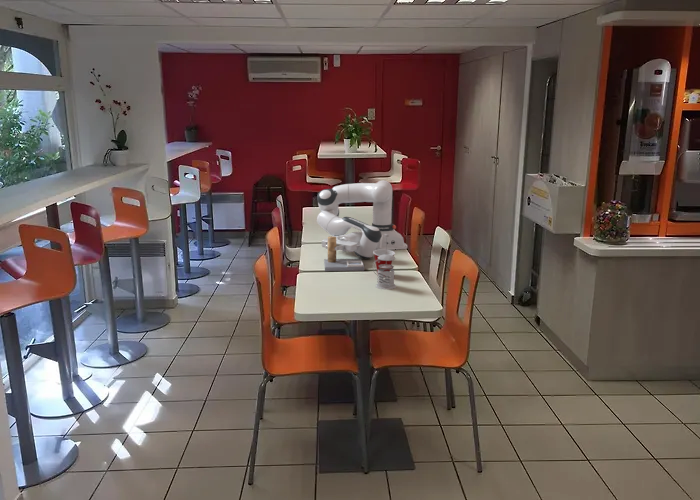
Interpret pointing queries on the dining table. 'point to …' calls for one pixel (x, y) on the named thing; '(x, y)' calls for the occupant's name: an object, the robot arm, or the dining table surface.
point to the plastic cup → (377, 254)
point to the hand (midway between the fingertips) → (331, 247)
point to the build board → (344, 265)
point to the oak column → (331, 249)
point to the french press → (387, 282)
